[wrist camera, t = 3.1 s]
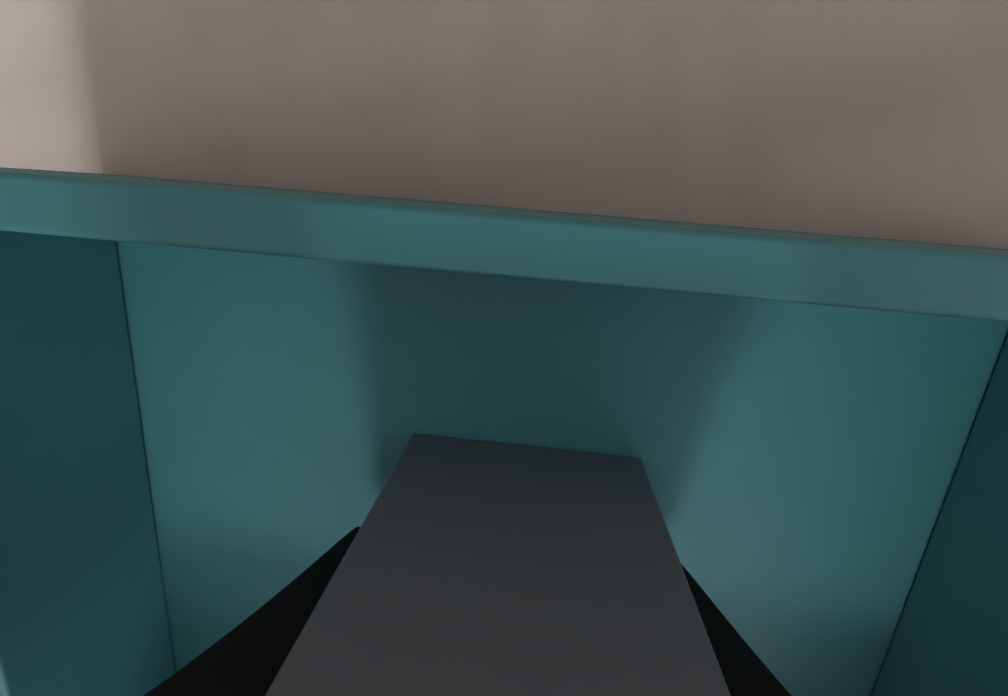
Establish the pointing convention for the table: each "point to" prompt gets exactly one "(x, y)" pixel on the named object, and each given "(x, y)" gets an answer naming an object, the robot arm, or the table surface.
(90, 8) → the table surface
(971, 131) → the table surface
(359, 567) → the block
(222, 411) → the tray
